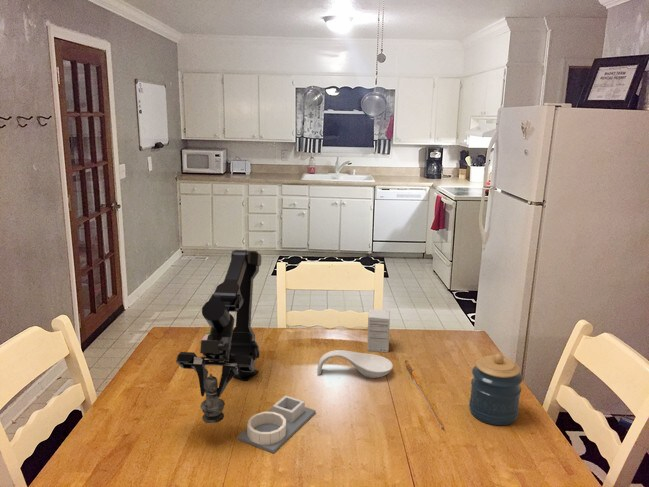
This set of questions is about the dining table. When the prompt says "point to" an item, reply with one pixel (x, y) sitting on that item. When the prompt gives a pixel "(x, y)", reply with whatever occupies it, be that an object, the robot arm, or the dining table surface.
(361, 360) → the spoon rest
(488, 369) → the canister
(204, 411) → the dark grey tiered column
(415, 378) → the katana
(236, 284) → the robot arm
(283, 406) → the socket board
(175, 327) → the dining table surface
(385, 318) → the supplement box
